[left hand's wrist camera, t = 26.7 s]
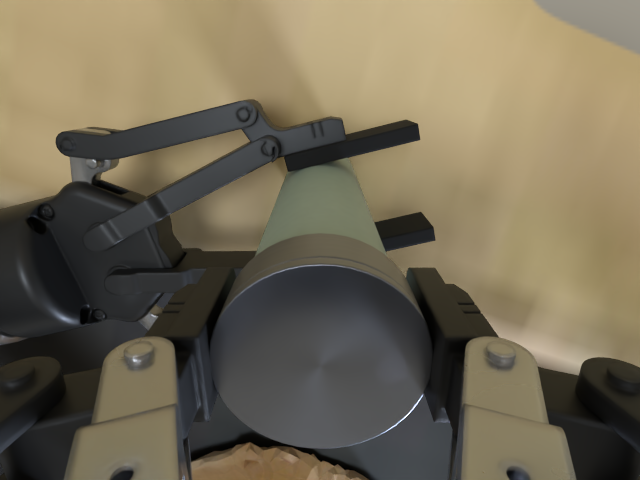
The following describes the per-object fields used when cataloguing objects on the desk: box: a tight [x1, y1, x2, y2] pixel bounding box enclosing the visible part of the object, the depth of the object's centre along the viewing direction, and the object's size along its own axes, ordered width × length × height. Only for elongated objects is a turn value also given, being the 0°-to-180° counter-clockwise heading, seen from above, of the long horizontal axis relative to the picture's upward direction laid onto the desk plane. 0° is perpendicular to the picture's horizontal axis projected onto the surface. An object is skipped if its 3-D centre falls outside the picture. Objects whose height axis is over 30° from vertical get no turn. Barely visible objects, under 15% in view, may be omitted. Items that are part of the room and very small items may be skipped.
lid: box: [209, 233, 433, 449], centre depth 10 cm, size 5×5×2 cm
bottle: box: [255, 158, 387, 256], centre depth 19 cm, size 4×4×19 cm
